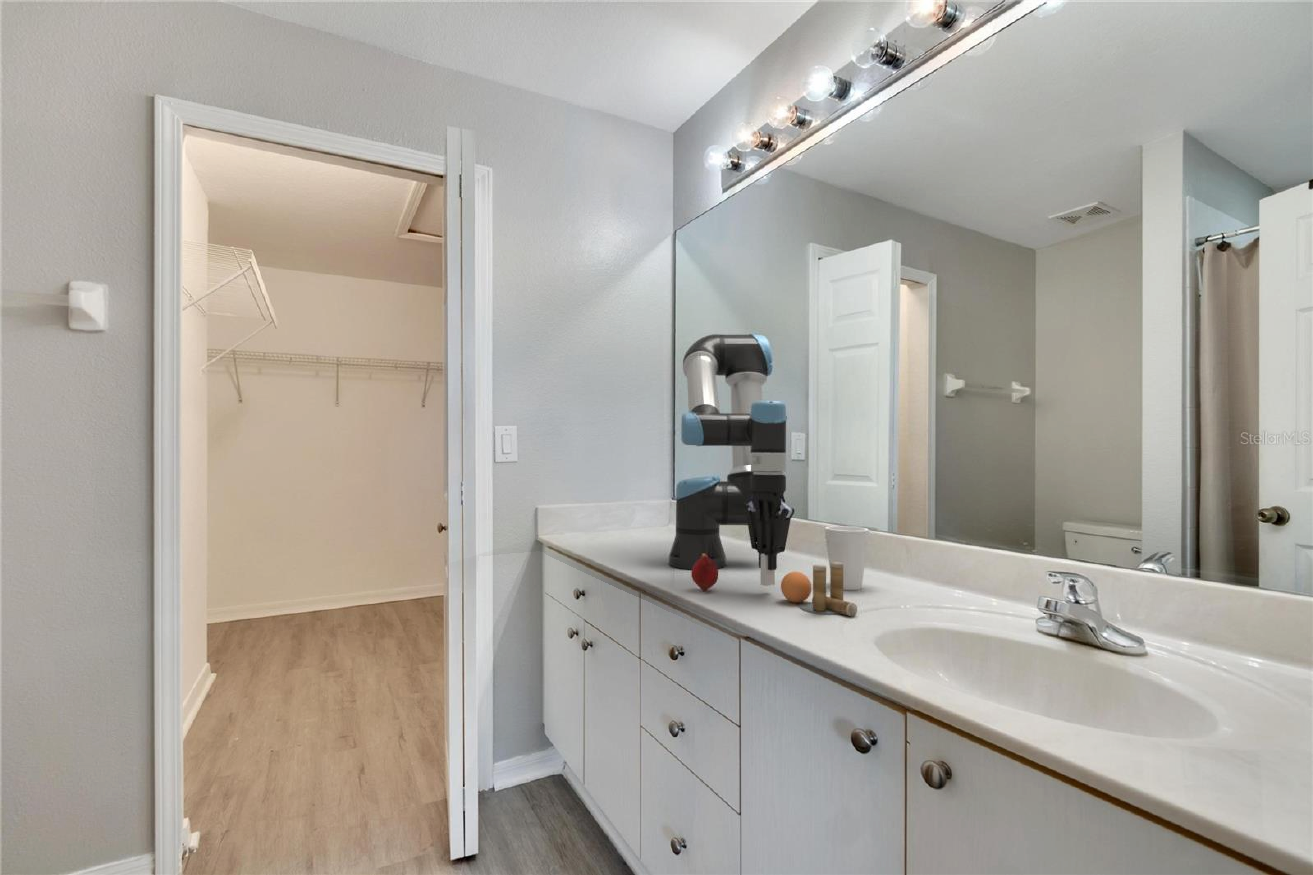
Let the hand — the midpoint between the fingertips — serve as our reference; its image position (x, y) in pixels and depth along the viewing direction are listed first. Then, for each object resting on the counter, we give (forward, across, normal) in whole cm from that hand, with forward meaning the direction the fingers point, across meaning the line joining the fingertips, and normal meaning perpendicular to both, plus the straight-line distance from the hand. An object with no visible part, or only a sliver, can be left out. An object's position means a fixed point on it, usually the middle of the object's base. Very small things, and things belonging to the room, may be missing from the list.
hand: (767, 584), depth 127 cm
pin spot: (+2, +14, 0) cm, 15 cm away
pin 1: (+2, +16, -2) cm, 16 cm away
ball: (-1, +8, 0) cm, 8 cm away
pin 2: (+2, +16, +2) cm, 16 cm away
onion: (+2, -10, -9) cm, 14 cm away
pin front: (+1, +13, 0) cm, 13 cm away
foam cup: (+2, +5, +20) cm, 21 cm away
